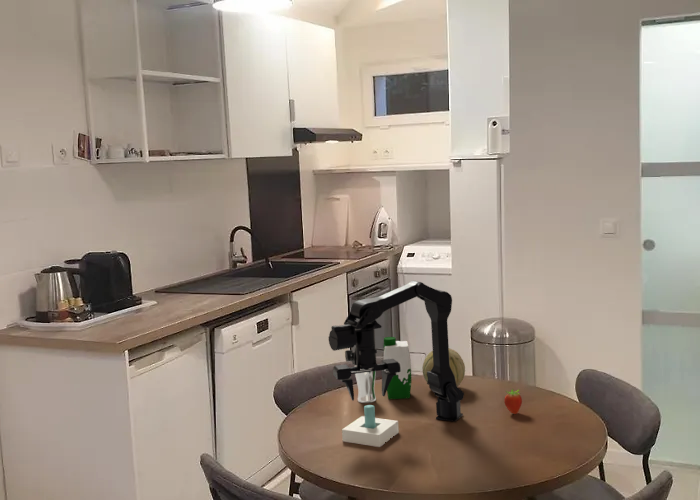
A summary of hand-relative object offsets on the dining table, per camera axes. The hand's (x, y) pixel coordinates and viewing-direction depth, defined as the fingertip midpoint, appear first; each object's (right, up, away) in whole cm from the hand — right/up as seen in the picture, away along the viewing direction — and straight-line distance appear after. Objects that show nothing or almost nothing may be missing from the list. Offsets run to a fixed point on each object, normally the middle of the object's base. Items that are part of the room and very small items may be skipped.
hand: (368, 398), depth 213 cm
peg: (+1, -12, +1) cm, 12 cm away
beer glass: (0, -8, +35) cm, 36 cm away
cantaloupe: (+27, -6, +41) cm, 50 cm away
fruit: (+45, -8, +14) cm, 48 cm away
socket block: (+1, -12, +1) cm, 12 cm away
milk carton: (+11, -7, +38) cm, 40 cm away
